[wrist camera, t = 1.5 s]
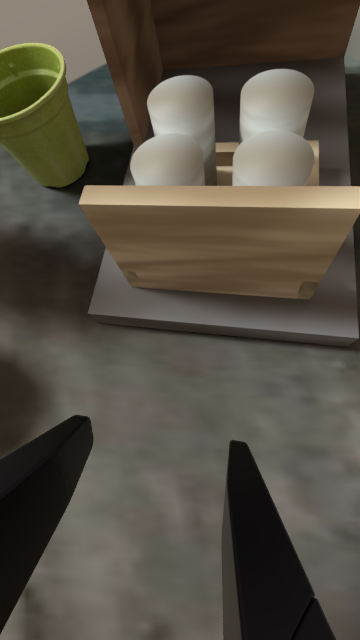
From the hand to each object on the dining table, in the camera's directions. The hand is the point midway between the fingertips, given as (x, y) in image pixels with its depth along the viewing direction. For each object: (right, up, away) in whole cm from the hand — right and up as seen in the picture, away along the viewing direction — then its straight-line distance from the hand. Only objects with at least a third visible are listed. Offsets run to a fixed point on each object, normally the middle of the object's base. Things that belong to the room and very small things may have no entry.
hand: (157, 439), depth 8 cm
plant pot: (-12, +19, +25) cm, 33 cm away
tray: (+4, +11, +16) cm, 20 cm away
